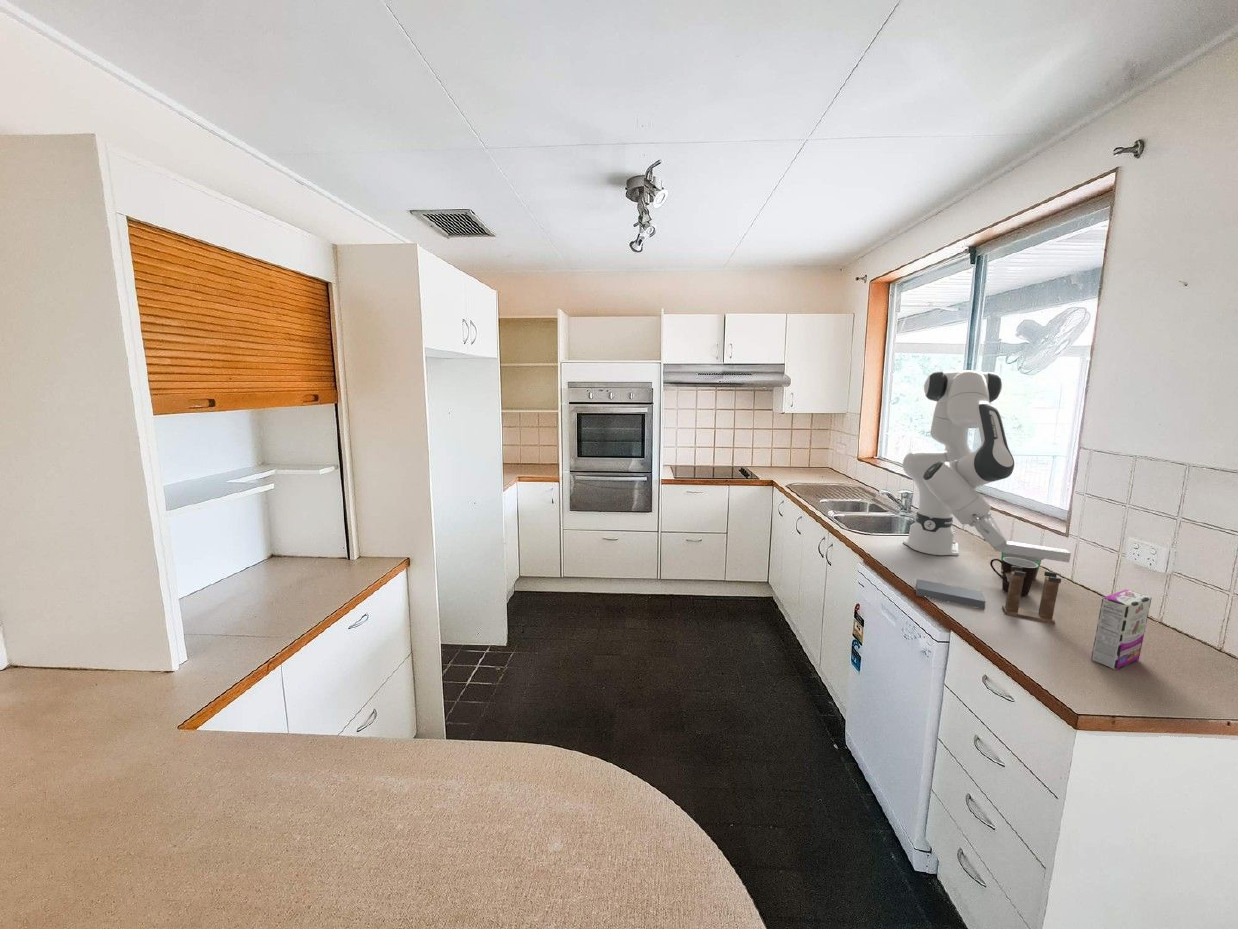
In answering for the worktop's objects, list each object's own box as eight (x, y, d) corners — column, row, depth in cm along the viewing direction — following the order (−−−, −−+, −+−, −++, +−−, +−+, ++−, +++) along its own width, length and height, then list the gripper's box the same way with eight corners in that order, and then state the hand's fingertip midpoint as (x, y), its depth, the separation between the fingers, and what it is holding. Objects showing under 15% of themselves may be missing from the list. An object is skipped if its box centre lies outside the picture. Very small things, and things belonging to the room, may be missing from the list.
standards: (1004, 614, 139) (1012, 570, 136) (1001, 607, 143) (1009, 565, 140) (1055, 624, 133) (1063, 579, 131) (1050, 617, 138) (1058, 573, 135)
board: (916, 595, 150) (917, 588, 150) (915, 586, 157) (916, 579, 156) (984, 609, 142) (985, 601, 141) (980, 598, 149) (981, 591, 148)
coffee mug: (1040, 598, 149) (1045, 568, 147) (1011, 598, 149) (1017, 567, 148) (1010, 582, 161) (1015, 554, 159) (984, 582, 161) (989, 553, 159)
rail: (995, 551, 139) (996, 542, 138) (993, 547, 141) (995, 539, 141) (1069, 562, 131) (1070, 553, 130) (1065, 558, 133) (1067, 550, 133)
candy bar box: (1112, 650, 121) (1125, 588, 118) (1139, 660, 117) (1154, 597, 114) (1088, 659, 117) (1101, 596, 114) (1115, 671, 112) (1130, 605, 109)
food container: (1001, 579, 164) (1006, 550, 162) (995, 572, 169) (1000, 545, 167) (1047, 585, 159) (1052, 556, 157) (1039, 578, 165) (1044, 550, 163)
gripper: (987, 513, 131) (1027, 555, 128) (978, 496, 148) (1012, 533, 145) (965, 526, 134) (1003, 567, 131) (958, 508, 151) (992, 544, 148)
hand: (1008, 549), depth 138 cm, fingers closed on rail, 3 cm apart
